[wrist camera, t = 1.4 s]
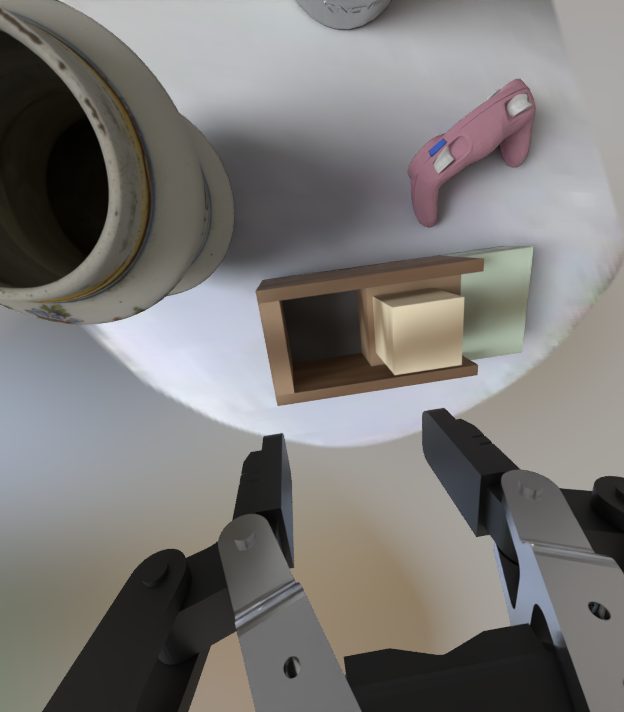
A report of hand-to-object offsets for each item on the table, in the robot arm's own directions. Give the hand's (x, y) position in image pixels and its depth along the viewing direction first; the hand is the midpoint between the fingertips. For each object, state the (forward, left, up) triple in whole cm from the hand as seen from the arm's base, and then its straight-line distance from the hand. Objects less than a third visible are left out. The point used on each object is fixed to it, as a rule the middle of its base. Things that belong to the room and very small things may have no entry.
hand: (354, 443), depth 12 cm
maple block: (0, +7, -15) cm, 17 cm away
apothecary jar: (-11, -11, -20) cm, 25 cm away
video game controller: (-12, +14, -20) cm, 27 cm away
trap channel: (0, +7, -19) cm, 21 cm away
